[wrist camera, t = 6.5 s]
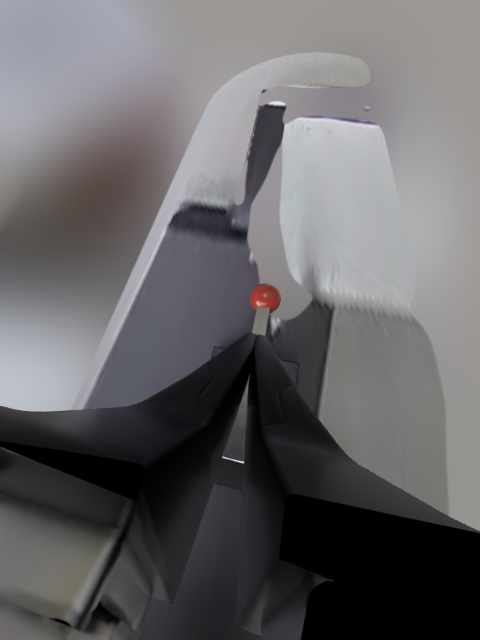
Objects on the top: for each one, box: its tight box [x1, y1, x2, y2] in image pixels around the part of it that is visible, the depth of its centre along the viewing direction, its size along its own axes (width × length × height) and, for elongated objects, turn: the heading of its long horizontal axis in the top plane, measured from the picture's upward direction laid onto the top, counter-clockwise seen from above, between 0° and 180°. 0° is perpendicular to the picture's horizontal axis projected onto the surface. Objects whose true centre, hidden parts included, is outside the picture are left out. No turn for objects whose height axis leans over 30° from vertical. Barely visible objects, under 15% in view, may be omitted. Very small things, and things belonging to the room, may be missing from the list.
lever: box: [222, 284, 281, 464], centre depth 16 cm, size 14×3×3 cm, turn 169°
